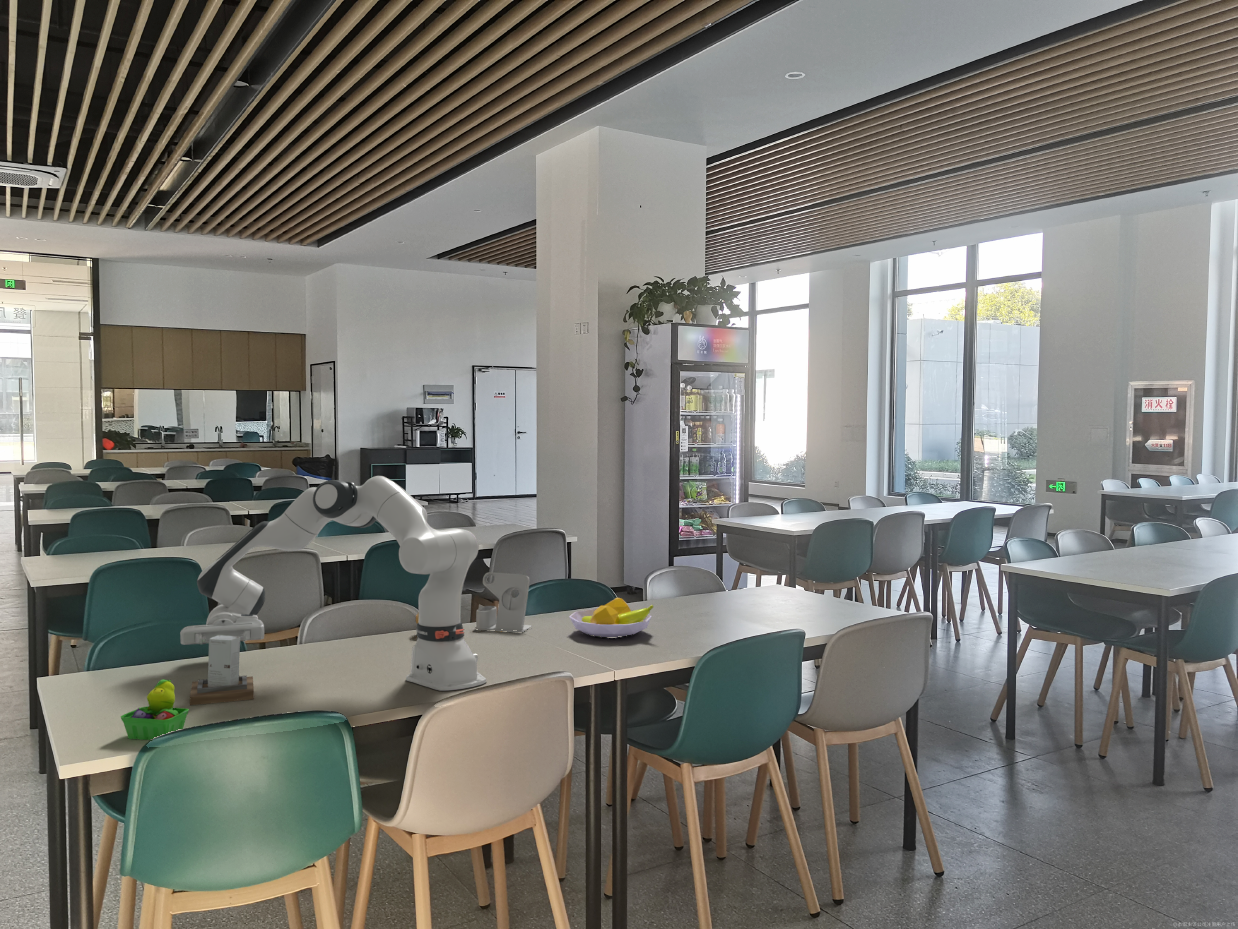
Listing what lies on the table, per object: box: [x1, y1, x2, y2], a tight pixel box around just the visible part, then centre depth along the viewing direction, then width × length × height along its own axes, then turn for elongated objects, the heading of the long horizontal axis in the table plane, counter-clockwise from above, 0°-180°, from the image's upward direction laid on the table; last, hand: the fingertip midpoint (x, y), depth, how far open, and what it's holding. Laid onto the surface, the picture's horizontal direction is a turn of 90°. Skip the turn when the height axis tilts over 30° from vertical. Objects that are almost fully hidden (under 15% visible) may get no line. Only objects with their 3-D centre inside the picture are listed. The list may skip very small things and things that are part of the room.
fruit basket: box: [120, 679, 190, 741], centre depth 190 cm, size 11×9×11 cm
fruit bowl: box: [568, 597, 654, 638], centre depth 291 cm, size 28×27×11 cm
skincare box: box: [207, 635, 241, 687], centre depth 220 cm, size 6×4×12 cm
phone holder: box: [474, 571, 533, 633], centre depth 298 cm, size 17×10×18 cm, turn 74°
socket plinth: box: [189, 675, 255, 706], centre depth 220 cm, size 14×14×3 cm
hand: (222, 639), depth 230 cm, fingers open, 8 cm apart
